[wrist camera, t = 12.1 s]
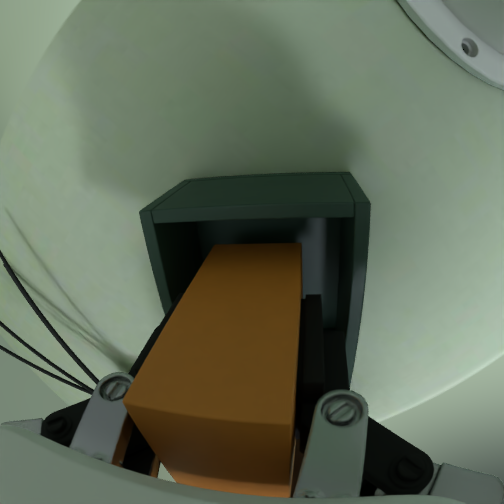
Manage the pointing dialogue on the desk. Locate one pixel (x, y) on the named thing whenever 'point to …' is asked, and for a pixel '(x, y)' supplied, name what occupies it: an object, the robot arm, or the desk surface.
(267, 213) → the bin
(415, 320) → the desk surface
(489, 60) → the robot arm
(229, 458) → the orange block
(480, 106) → the desk surface
